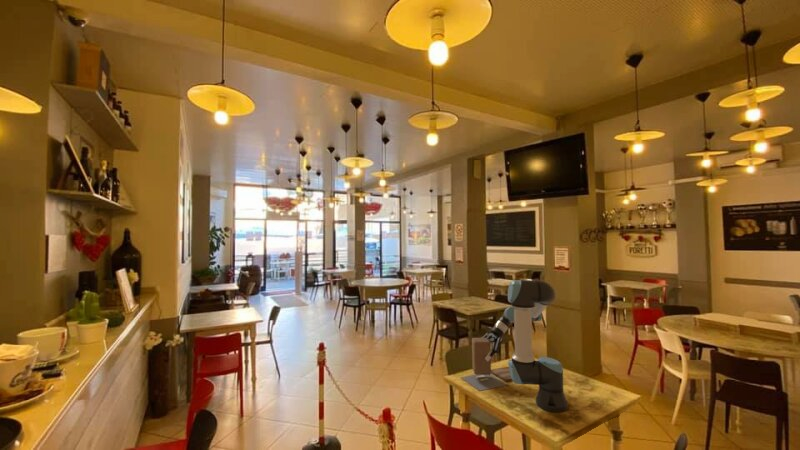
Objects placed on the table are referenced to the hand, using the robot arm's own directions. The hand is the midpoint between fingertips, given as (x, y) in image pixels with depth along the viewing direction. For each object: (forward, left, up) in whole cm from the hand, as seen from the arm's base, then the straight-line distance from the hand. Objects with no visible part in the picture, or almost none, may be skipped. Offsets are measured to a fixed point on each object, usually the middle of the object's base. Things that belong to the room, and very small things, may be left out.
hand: (479, 356), depth 210 cm
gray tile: (-4, +1, -13) cm, 14 cm away
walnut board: (-2, -19, -13) cm, 23 cm away
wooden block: (0, -1, -10) cm, 10 cm away
